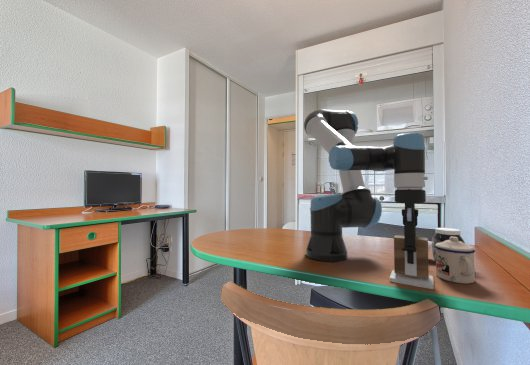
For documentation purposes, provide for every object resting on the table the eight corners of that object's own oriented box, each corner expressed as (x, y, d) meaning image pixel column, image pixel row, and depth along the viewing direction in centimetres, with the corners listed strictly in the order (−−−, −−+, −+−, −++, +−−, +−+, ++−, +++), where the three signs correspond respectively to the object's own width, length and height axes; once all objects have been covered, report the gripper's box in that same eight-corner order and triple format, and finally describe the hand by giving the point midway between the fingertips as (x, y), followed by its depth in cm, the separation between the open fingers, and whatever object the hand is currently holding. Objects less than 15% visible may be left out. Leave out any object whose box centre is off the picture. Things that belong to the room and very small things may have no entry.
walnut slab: (428, 278, 64) (427, 240, 64) (394, 273, 68) (393, 237, 69) (428, 274, 68) (427, 237, 68) (395, 269, 72) (395, 235, 72)
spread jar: (470, 269, 77) (469, 232, 77) (430, 267, 79) (430, 231, 79) (450, 258, 89) (449, 226, 89) (415, 256, 91) (415, 225, 91)
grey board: (389, 281, 67) (389, 277, 67) (392, 272, 74) (392, 269, 74) (433, 289, 61) (433, 285, 61) (432, 279, 68) (432, 275, 68)
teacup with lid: (429, 271, 74) (428, 233, 75) (463, 273, 73) (462, 234, 73) (451, 287, 63) (449, 242, 63) (492, 290, 61) (490, 243, 61)
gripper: (426, 188, 59) (428, 285, 59) (425, 188, 74) (426, 266, 73) (391, 189, 63) (393, 279, 63) (397, 188, 78) (398, 262, 77)
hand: (411, 272), depth 68 cm, fingers closed on walnut slab, 4 cm apart
